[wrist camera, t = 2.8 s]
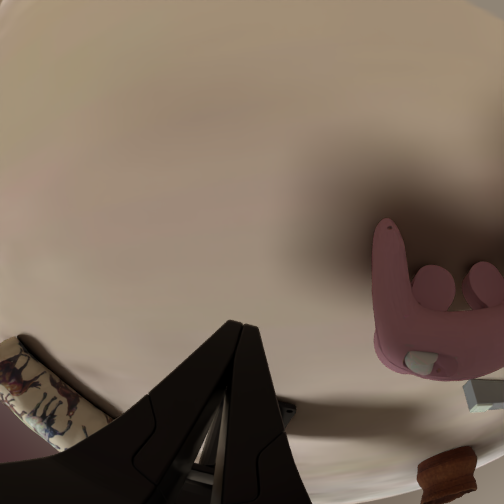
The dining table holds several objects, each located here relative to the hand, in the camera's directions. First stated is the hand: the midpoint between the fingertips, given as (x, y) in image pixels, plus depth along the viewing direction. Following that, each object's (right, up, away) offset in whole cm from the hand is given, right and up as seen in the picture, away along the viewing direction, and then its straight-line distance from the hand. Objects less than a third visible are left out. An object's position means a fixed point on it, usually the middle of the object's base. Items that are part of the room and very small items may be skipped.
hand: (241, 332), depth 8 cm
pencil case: (-23, -15, +22) cm, 35 cm away
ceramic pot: (+26, -25, +18) cm, 40 cm away
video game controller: (+11, +2, +5) cm, 12 cm away
